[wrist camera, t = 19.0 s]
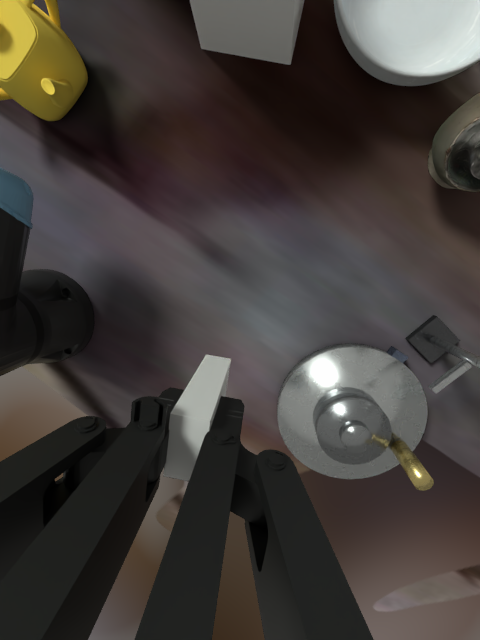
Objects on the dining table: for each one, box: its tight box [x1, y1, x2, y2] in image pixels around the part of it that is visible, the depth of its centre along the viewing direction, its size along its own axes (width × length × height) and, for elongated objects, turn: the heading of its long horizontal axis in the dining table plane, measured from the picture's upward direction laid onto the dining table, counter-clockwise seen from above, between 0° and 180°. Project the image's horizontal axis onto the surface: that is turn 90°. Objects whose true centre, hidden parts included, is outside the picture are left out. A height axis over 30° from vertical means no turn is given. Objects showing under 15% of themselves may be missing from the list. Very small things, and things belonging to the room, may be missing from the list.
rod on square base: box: [406, 315, 480, 393], centre depth 35 cm, size 8×6×16 cm
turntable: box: [277, 343, 434, 491], centre depth 41 cm, size 23×22×9 cm
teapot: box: [0, 0, 88, 121], centre depth 35 cm, size 14×13×10 cm
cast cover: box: [313, 387, 392, 465], centre depth 41 cm, size 10×10×6 cm
